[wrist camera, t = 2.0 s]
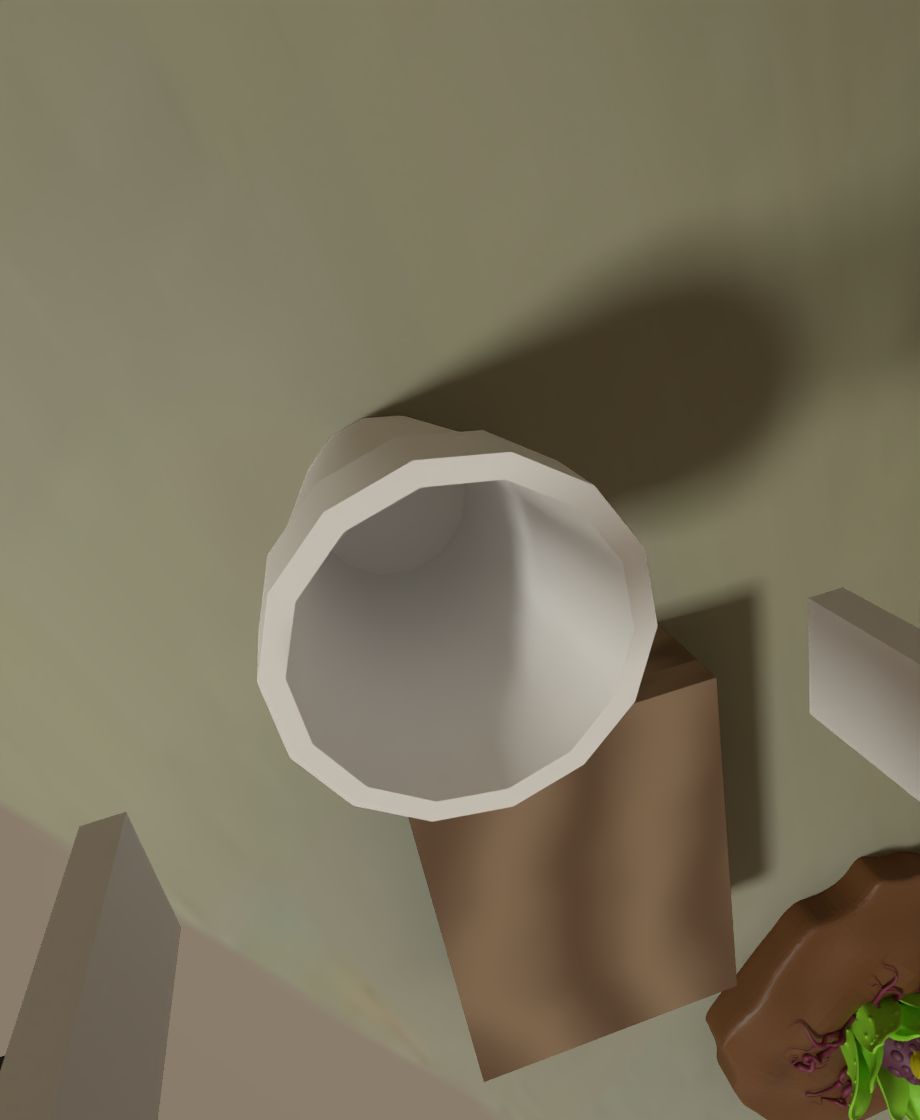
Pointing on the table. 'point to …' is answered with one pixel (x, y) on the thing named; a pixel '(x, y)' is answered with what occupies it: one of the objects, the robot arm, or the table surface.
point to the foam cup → (449, 620)
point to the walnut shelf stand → (594, 882)
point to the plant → (831, 1003)
